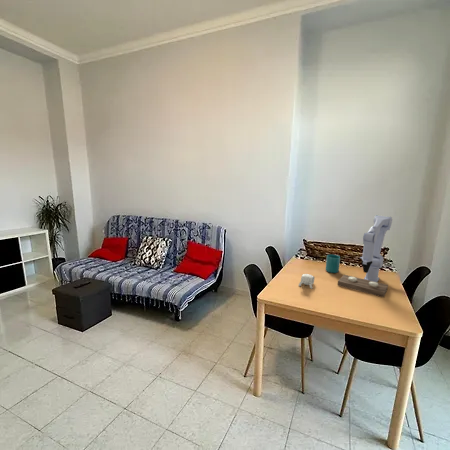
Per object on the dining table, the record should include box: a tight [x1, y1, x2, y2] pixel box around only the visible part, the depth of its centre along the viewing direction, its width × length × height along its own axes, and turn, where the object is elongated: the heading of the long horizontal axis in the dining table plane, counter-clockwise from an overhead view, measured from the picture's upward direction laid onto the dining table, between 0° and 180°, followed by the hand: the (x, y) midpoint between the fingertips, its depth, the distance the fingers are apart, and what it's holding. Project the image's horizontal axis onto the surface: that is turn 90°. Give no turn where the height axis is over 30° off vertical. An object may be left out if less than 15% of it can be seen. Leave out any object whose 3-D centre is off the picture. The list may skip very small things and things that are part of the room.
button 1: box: [348, 276, 358, 282], centre depth 173 cm, size 5×5×4 cm
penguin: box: [298, 273, 315, 290], centre depth 170 cm, size 9×8×15 cm
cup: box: [325, 254, 341, 274], centre depth 197 cm, size 9×12×11 cm
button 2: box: [369, 282, 379, 287], centre depth 166 cm, size 5×5×4 cm
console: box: [337, 274, 389, 298], centre depth 170 cm, size 14×26×3 cm, turn 51°
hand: (365, 272), depth 170 cm, fingers closed
